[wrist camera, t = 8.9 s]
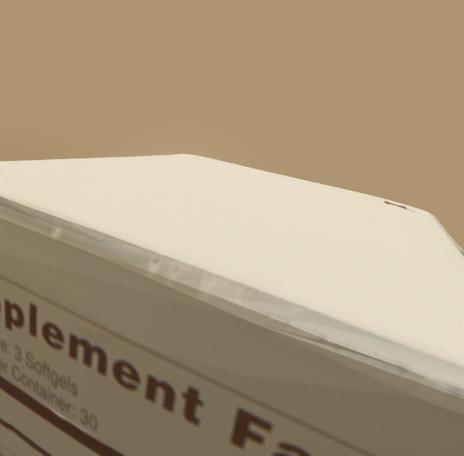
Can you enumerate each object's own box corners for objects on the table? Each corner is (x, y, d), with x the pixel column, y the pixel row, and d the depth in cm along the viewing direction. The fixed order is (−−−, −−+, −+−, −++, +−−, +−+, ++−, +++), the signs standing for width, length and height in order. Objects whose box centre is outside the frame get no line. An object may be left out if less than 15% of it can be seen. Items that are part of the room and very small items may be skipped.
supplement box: (145, 448, 15) (188, 149, 11) (317, 551, 12) (448, 210, 8) (-53, 699, 8) (-115, 148, 4) (238, 1040, 5) (701, 435, 2)
